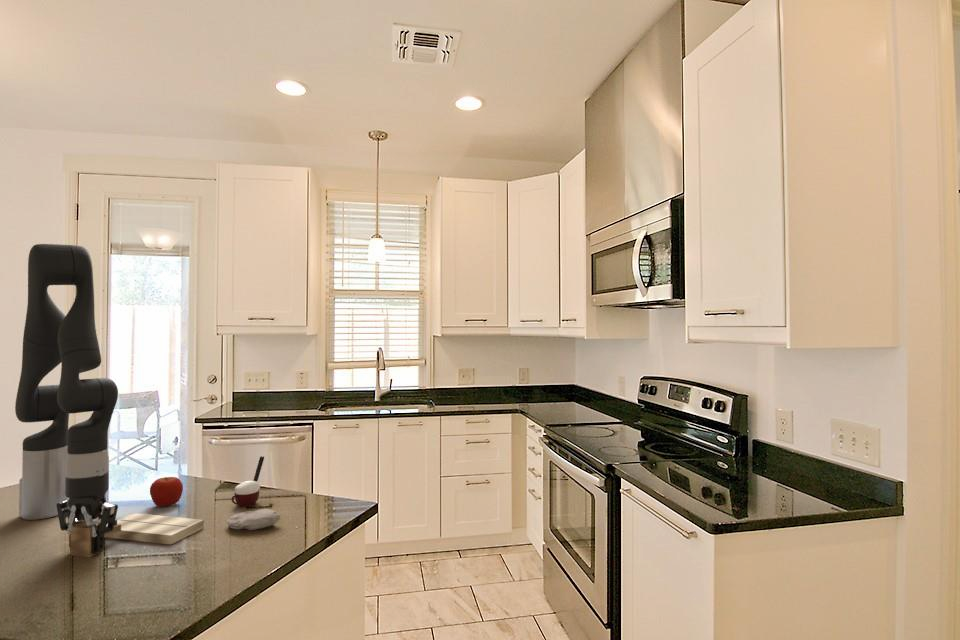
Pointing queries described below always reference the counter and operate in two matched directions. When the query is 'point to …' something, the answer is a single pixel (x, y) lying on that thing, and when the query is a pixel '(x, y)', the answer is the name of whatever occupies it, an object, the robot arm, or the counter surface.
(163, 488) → the apple
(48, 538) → the counter surface
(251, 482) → the cocoa
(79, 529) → the block
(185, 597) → the counter surface
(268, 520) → the fossil
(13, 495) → the counter surface
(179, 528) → the board
